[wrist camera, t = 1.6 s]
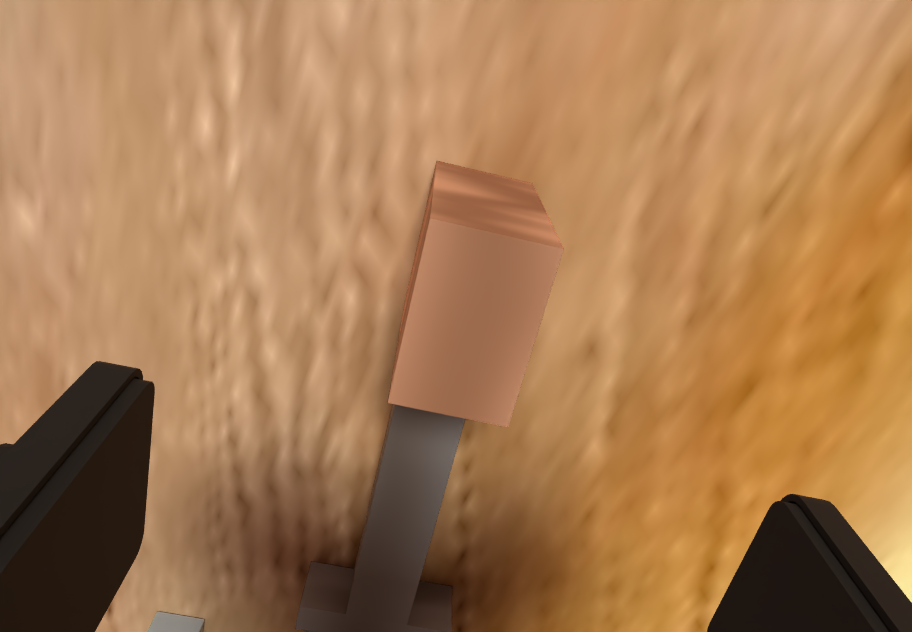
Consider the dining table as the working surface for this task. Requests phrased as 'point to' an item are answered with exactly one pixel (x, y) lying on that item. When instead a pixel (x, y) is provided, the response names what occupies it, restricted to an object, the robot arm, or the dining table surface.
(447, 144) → the dining table surface
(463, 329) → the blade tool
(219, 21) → the dining table surface
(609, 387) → the dining table surface
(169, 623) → the bridge block
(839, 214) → the dining table surface
